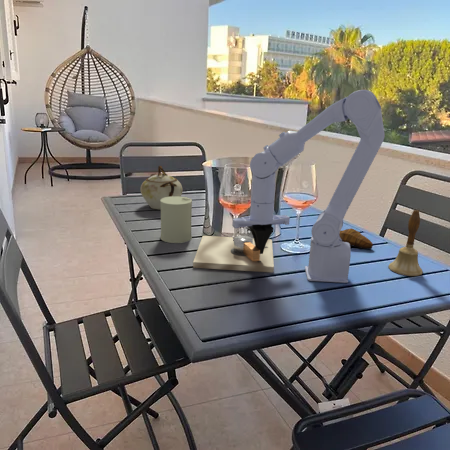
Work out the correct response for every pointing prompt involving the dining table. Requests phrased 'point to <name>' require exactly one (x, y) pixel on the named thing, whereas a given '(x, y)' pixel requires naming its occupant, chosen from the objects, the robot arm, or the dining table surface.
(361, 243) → the croissant
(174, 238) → the can
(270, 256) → the base plate
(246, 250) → the wooden handled dome
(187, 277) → the dining table surface
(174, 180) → the sugar bowl
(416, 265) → the hand bell
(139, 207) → the dining table surface
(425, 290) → the dining table surface
